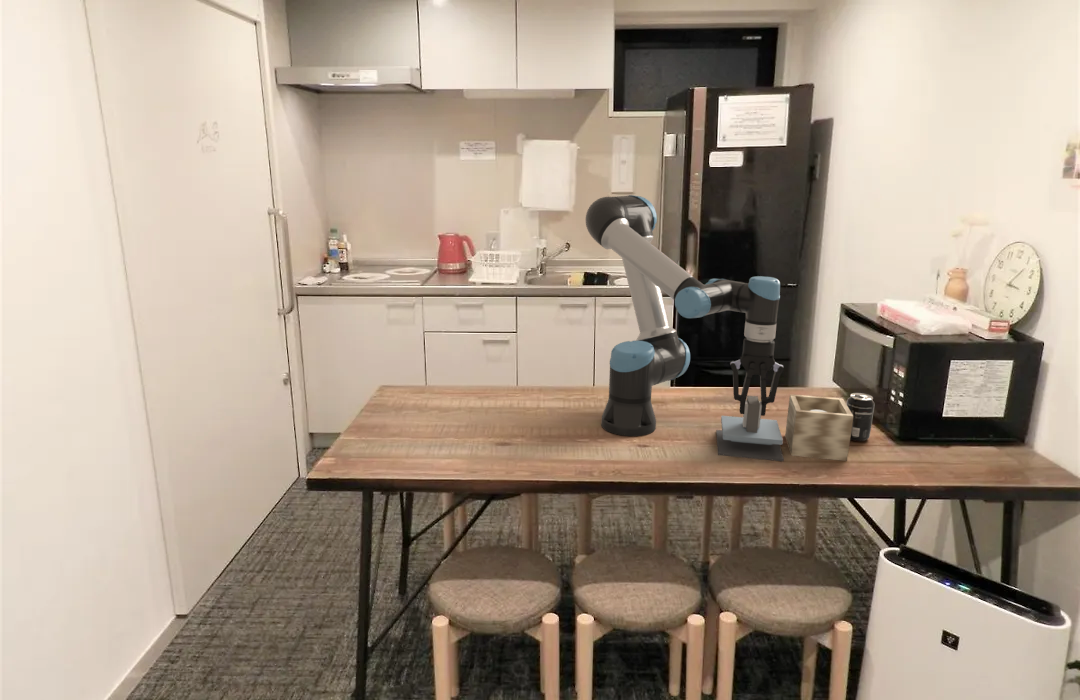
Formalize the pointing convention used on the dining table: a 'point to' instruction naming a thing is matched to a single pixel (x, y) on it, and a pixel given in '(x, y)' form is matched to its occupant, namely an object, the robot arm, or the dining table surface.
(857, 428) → the beverage can
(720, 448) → the mat
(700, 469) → the dining table surface
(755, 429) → the lid
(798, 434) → the box
